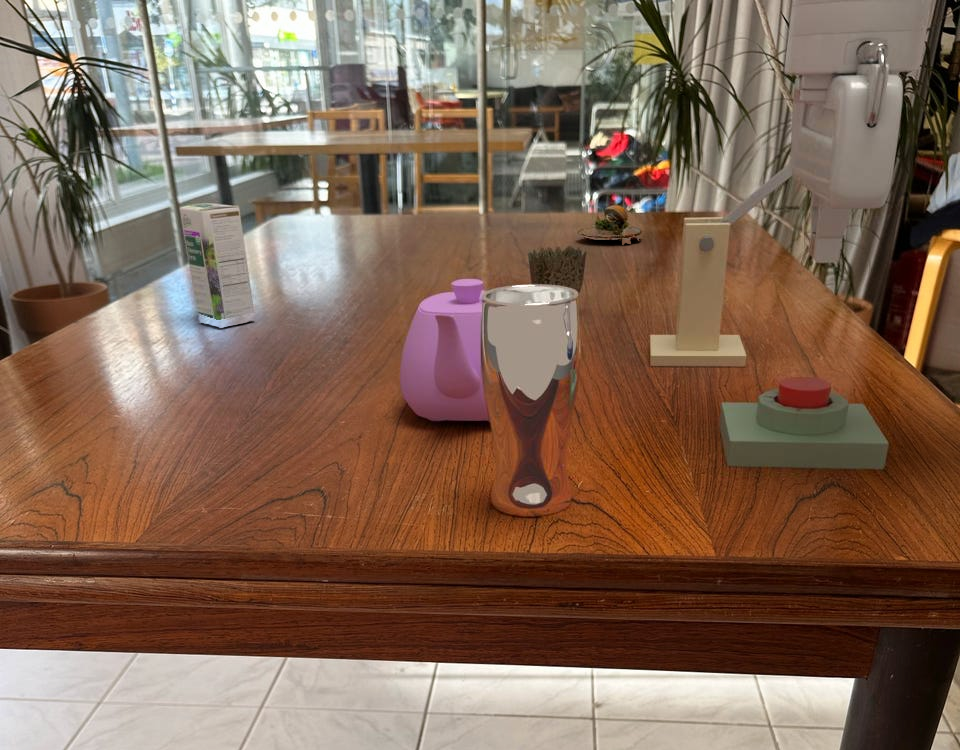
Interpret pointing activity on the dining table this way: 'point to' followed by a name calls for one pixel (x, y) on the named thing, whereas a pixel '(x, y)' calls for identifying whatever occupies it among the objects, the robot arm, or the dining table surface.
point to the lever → (757, 196)
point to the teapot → (446, 356)
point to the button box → (801, 435)
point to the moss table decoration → (613, 223)
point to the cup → (558, 267)
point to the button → (804, 392)
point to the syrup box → (217, 260)
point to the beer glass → (530, 393)
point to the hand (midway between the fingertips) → (822, 259)
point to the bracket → (700, 303)
